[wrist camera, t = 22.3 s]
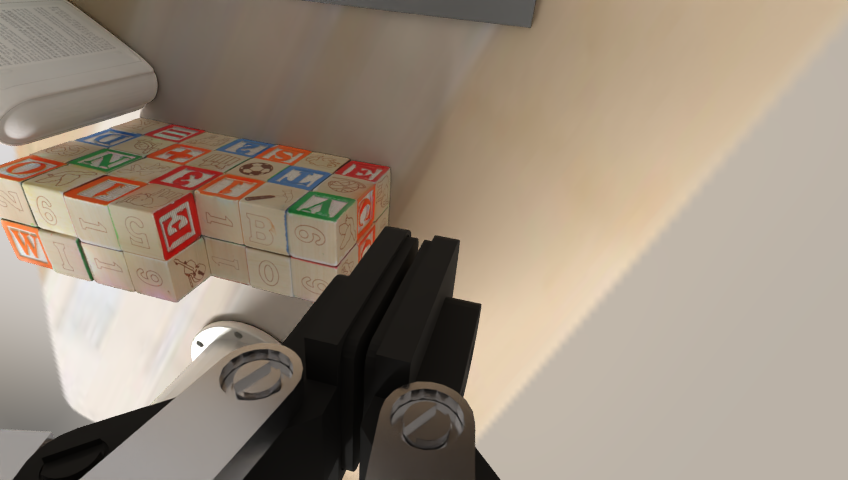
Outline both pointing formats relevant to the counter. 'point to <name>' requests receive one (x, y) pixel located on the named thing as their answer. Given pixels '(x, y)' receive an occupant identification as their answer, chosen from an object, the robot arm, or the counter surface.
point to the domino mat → (455, 9)
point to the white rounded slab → (63, 72)
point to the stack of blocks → (192, 211)
